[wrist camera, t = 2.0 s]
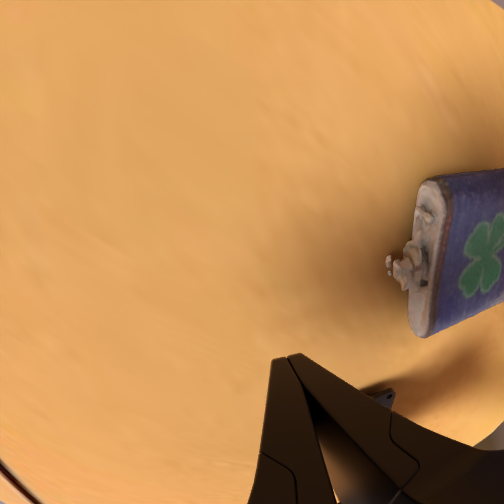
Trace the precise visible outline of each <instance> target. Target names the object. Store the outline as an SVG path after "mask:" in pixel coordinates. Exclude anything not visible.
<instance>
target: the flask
mask: <svg viewBox="0 0 504 504" xmlns="http://www.w3.org/2000/svg"><path fill="white" fill-rule="evenodd" d="M403 256H404V257H403V259H402V261H400V260H399V259H397V260H395V261H394V262H393V277H394V278H395V279H396V280H397V281H399V282H400V284H401V289H402V290H403V291H405V290H407V289H409V294H408V320H409V324H410V327H411V330H412V331H413V332H414V334H415V335H416V336H418V337H420V338H427V337H429V336H431V335H433V334H435V333H437V332H439V331H441V330H444V329H446V328H448V327H450V326H452V325H455V324H457V323H459V322H461V321H463V320H465V319H467V318H469V317H472V316H474V315H476V314H478V313H480V312H481V311H484V310H486V309H488V308H491V307H493V306H495V305H497V304H499V303H501V302H503V301H504V168H502V169H494V170H483V171H478V172H465V173H457V174H450V175H439V176H436V177H433V178H428V179H426V180H425V181H424V182H422V183H421V186H420V188H419V190H418V195H417V201H416V208H415V213H414V221H413V228H412V239H411V241H408V242H407V243H406V246H405V247H404V248H403ZM385 264H386V267H387V268H390V267H391V255H388V256H387V257H386V261H385ZM391 274H392V272H391V271H390V270H388V275H389V276H390V275H391Z"/></svg>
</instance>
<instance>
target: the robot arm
mask: <svg viewBox="0 0 504 504" xmlns="http://www.w3.org/2000/svg"><path fill="white" fill-rule="evenodd" d="M394 397H395V392H394V390H393V389H392V388H388V389H386V390H383V391H381V392H378V393H376V394H373V395H370V396H368V395H366V394H364V393H363V392H361V391H360V390H358V389H356V388H355V387H353V386H351V385H350V384H348V383H347V382H345V381H344V380H342V379H340V378H339V377H337V376H336V375H334V374H333V373H331V372H329V371H328V370H326V369H325V368H323V367H322V366H320V365H319V364H317V363H316V362H314V361H313V360H311V359H310V358H308V357H306V356H305V355H303V354H302V353H297V354H293V355H289V356H287V358H286V357H280V358H276V359H273V360H272V361H271V368H270V376H269V384H268V392H267V400H266V407H265V415H264V422H263V429H262V436H261V443H260V450H259V453H260V454H259V455H258V462H257V468H256V473H255V478H254V483H253V487H252V490H251V493H250V497H249V500H248V503H247V504H504V449H503V450H483V449H478V448H475V447H472V446H469V445H466V444H464V443H461V442H458V441H456V440H453V439H450V438H448V437H445V436H443V435H440V434H438V433H435V432H433V431H431V430H429V429H426V428H424V427H422V426H420V425H418V424H416V423H414V422H412V421H410V420H408V419H407V418H405V417H403V416H401V415H400V414H398V413H396V412H394V411H393V412H392V410H391V406H392V403H393V400H394ZM332 487H333V488H332ZM333 489H334V491H335V493H336V495H337V497H338V500H339V503H337V502H336V498H335V495H334V491H333Z"/></svg>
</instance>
